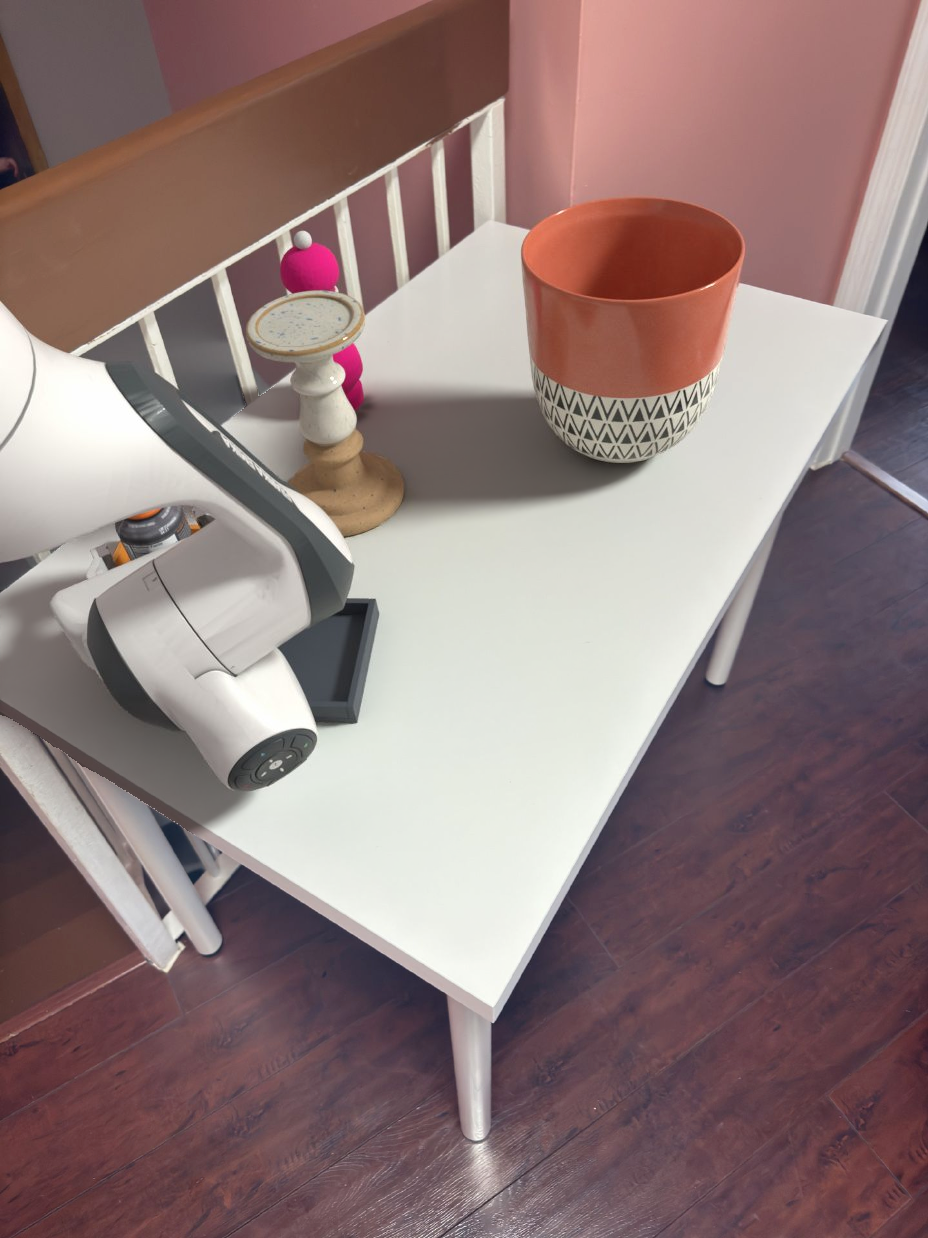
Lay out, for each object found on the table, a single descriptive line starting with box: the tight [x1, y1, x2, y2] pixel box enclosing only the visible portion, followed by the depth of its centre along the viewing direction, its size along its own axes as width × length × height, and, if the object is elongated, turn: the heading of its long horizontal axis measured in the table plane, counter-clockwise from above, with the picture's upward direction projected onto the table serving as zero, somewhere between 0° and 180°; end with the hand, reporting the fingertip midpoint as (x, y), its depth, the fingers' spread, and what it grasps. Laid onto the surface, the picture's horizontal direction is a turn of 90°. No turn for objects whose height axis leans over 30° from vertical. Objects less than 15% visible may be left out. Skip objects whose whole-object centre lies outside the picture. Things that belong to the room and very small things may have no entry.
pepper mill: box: [279, 230, 365, 412], centre depth 98 cm, size 7×7×20 cm
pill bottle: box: [114, 505, 193, 561], centre depth 82 cm, size 6×6×11 cm
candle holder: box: [245, 290, 405, 537], centre depth 86 cm, size 12×12×20 cm
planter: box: [520, 196, 746, 464], centre depth 88 cm, size 20×20×21 cm
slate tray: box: [277, 597, 380, 724], centre depth 78 cm, size 12×12×2 cm
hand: (151, 531), depth 82 cm, fingers open, 8 cm apart
